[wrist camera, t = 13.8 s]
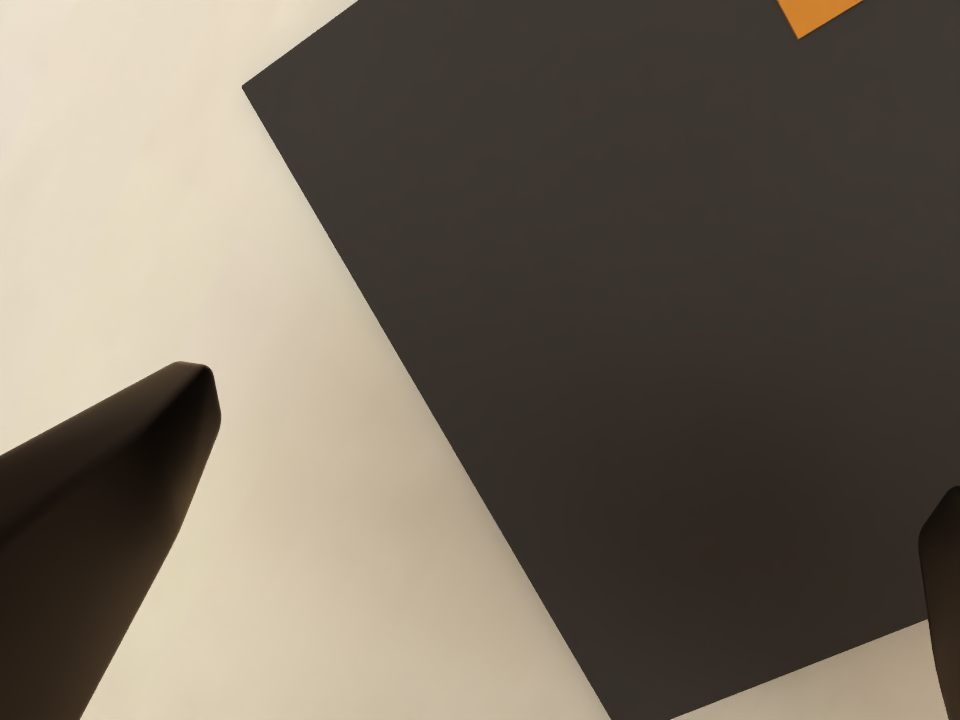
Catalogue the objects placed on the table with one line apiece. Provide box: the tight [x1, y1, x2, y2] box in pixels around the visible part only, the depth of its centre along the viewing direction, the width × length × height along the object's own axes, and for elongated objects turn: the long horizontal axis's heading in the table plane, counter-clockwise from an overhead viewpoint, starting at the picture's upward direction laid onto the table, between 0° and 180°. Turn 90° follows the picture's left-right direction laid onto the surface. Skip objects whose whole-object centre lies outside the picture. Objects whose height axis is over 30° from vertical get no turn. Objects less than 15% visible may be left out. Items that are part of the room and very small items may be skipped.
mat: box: [242, 0, 960, 720], centre depth 19 cm, size 22×20×1 cm
